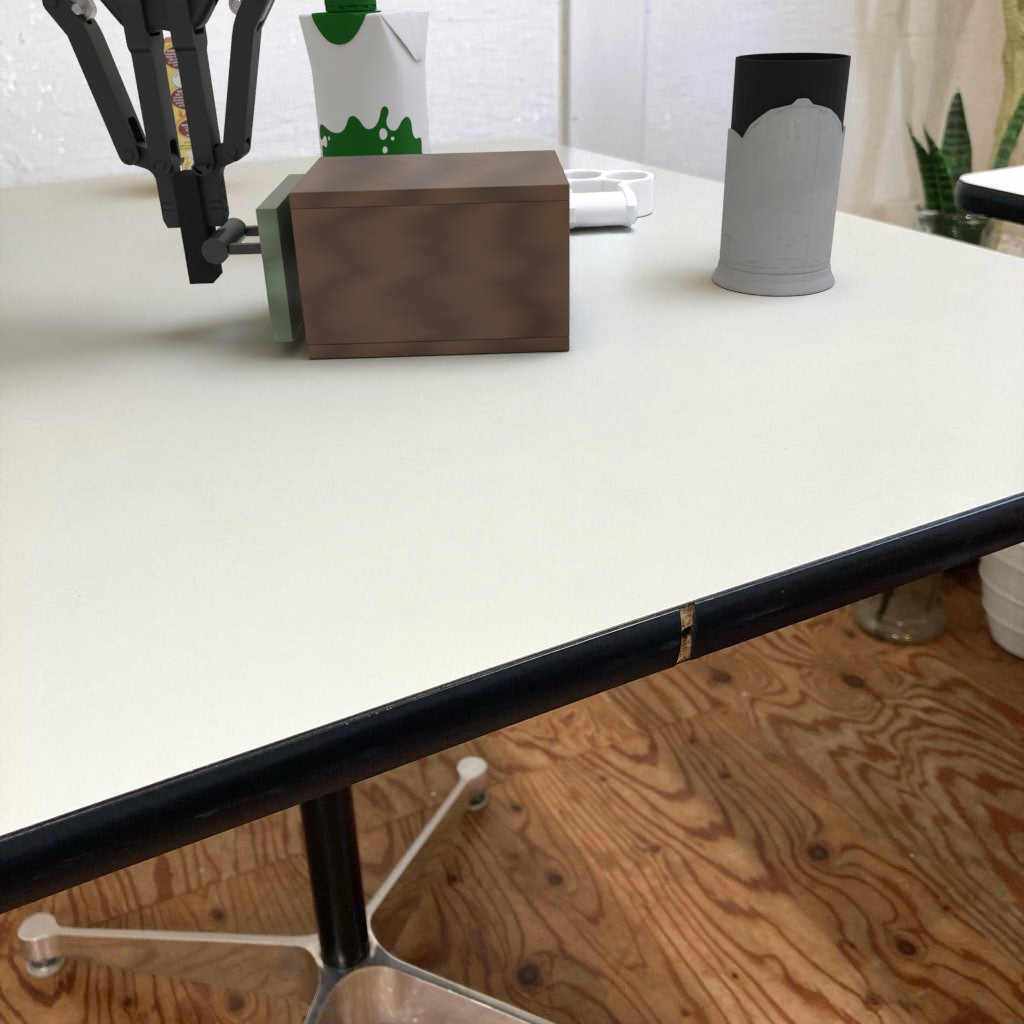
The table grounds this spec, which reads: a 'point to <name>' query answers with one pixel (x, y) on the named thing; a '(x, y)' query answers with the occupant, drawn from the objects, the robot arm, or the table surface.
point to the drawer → (268, 256)
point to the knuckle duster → (609, 196)
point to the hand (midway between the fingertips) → (206, 277)
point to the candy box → (178, 104)
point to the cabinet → (433, 254)
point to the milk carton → (368, 78)
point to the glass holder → (782, 173)
